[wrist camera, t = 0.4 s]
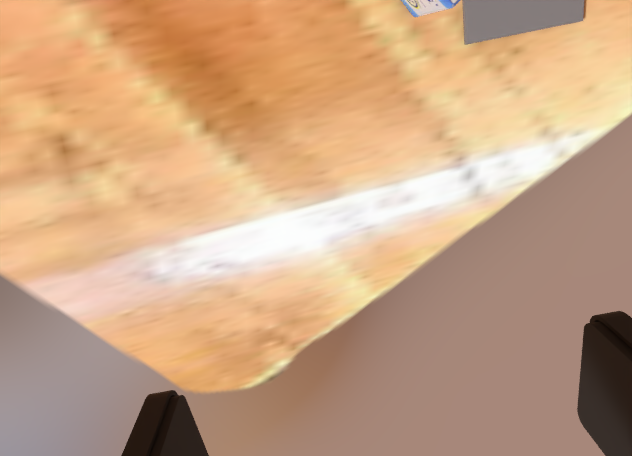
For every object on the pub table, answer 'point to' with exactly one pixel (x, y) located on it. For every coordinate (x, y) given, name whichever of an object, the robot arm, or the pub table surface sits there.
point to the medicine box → (428, 6)
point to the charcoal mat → (516, 17)
